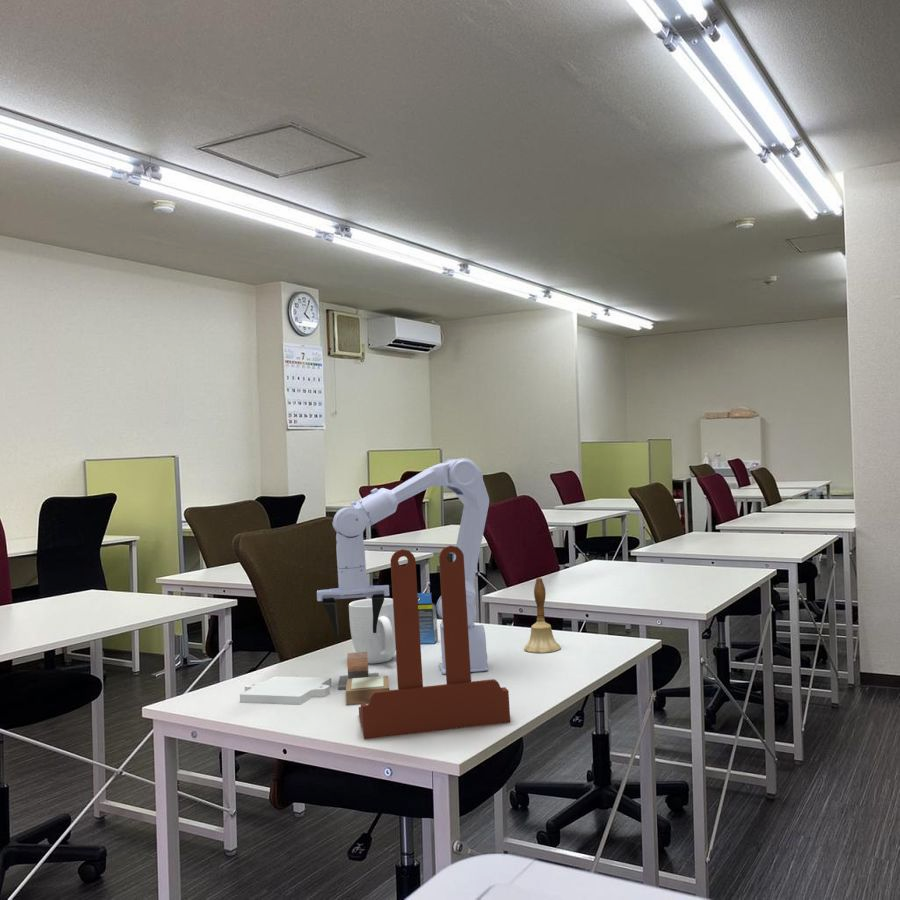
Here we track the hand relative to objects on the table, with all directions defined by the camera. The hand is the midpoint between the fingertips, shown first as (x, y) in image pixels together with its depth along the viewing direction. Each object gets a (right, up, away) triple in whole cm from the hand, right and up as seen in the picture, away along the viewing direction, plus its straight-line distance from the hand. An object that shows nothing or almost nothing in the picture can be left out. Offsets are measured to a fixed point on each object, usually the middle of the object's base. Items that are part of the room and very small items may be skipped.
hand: (355, 633), depth 172 cm
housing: (+1, -9, 0) cm, 9 cm away
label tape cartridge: (+12, -10, +34) cm, 37 cm away
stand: (+4, -10, -11) cm, 15 cm away
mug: (+3, -10, +17) cm, 20 cm away
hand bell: (+40, -8, +19) cm, 45 cm away
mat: (+1, -10, 0) cm, 10 cm away
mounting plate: (-13, -11, -5) cm, 18 cm away
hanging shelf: (+16, -9, -27) cm, 33 cm away
